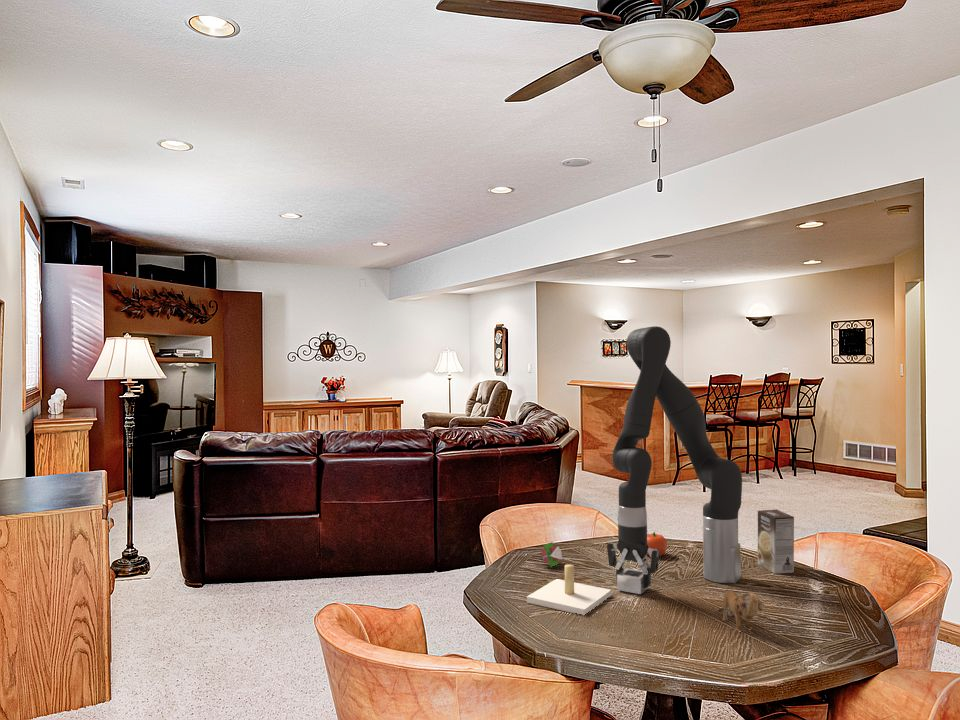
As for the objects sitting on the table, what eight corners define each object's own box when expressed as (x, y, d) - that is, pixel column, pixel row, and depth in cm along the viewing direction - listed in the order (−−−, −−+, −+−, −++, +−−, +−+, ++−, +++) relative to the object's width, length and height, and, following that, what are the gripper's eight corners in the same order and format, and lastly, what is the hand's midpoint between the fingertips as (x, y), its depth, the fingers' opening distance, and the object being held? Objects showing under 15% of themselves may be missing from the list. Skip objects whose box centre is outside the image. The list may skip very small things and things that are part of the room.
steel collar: (649, 587, 181) (649, 572, 181) (640, 594, 175) (640, 578, 175) (626, 582, 184) (626, 568, 184) (617, 589, 179) (617, 574, 179)
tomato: (666, 559, 206) (666, 535, 205) (639, 557, 208) (639, 533, 208) (668, 552, 213) (667, 529, 213) (642, 550, 215) (641, 527, 215)
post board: (611, 595, 176) (611, 562, 176) (584, 615, 162) (584, 580, 162) (556, 584, 185) (556, 553, 185) (526, 602, 171) (526, 568, 171)
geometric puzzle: (530, 557, 202) (543, 538, 199) (544, 552, 207) (556, 534, 204) (545, 575, 199) (558, 557, 195) (559, 570, 204) (572, 552, 200)
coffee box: (756, 564, 200) (756, 510, 200) (776, 563, 201) (776, 509, 201) (774, 574, 191) (774, 517, 191) (795, 572, 192) (795, 516, 192)
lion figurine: (768, 636, 150) (767, 595, 150) (747, 639, 149) (747, 598, 148) (727, 611, 164) (727, 574, 164) (708, 614, 163) (707, 576, 163)
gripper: (663, 522, 179) (664, 585, 179) (612, 516, 187) (613, 576, 187) (654, 529, 172) (654, 594, 173) (601, 521, 180) (602, 584, 181)
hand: (633, 585), depth 180 cm, fingers closed on steel collar, 6 cm apart
